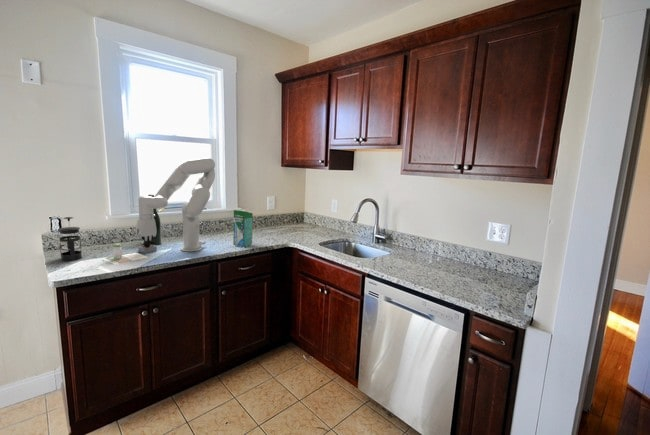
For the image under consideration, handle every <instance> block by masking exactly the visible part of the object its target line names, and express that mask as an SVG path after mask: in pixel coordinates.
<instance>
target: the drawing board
mask: <svg viewBox="0 0 650 435" xmlns="http://www.w3.org/2000/svg"><path fill="white" fill-rule="evenodd" d="M147 258H149V256H148V255H147V256H146V255H144V254H141V253H139V252H132V253H127V254H126V253H125V254H122V258H121V259H114V258H113V256H110V257H107V258H102V259H101V260H102V261H104V262H106V263H110V264H112V265H119V264H124V263H129V262H134V261H138V260H142V259H147Z"/></svg>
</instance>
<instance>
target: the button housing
mask: <svg viewBox="0 0 650 435" xmlns="http://www.w3.org/2000/svg"><path fill="white" fill-rule="evenodd" d="M150 246H151V247H149V248H144V247H145V246H144V245H140V246H138V247H137V248H138V253H143V254H151V253H155V252H157V249H158V248H157V245H150Z"/></svg>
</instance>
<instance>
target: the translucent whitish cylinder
mask: <svg viewBox="0 0 650 435" xmlns="http://www.w3.org/2000/svg"><path fill="white" fill-rule="evenodd" d="M122 247H123V246H122V243H120V242H116V243H112V253H113V254H112V257H113V258H114V259H121V258H122V255H123V250H122V249H123V248H122Z"/></svg>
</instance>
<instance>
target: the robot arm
mask: <svg viewBox="0 0 650 435" xmlns="http://www.w3.org/2000/svg"><path fill="white" fill-rule="evenodd" d="M215 167H216V163H215V160H214V159H213V158H211V157H202V158H197V159H189V160H188V159H187V160H182V161H181V162H180V163H179V164H178V166H176V168H175V169H174V170H173V172H172V173H171V174H170V176H169V177H168V178H167V180H165V182H164V183H163V185H162V186H161V187H160V188H159V189H158V191H157V192H156V193H155V194H154V197H151V196H148V195H140V196H139V197H138V199H137V200H138V201H137V202H138V219H137V221H136V227H135V235H136V238H137V239H139V240H142V241H143V246H145V247H147V248H148V247H150V241H151V239H152V238H153V237H155V236H156V223H155V219H154V216H155V214H153V208H156V210H163V209H165V208H167V207H168V205H169V202H168V200H169V199H170V198H171V197H172V196H173V194H174V193H175V192H177V191H178V190H180V188H182V186H183V185H184V184H185V182H186V181H187V180H188V178H189V177H190V176H192V175H197V174H198V175H199V174H200V176H199V178H198V180H197V182H196V183H195V186H194V187H193V188H192V190H191V197H190V198H189V200H186V201H184V202H183V203H182V208H181V213H182V235H183V236H182V237H183V240H182V242H183V246H181V247H180V251H183V252H198V251H201V250H202V248H203V247H202V245H206V243H207V242H206V241H205V240H204V241H201V240H200V215H201V214H202V212H203V211H204V209H205V207H206V205H207V204H208V202H209V200H210V197H211V192H210V190H211V187H212V185H213V184H214V182H215V179H216V171H215Z"/></svg>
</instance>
